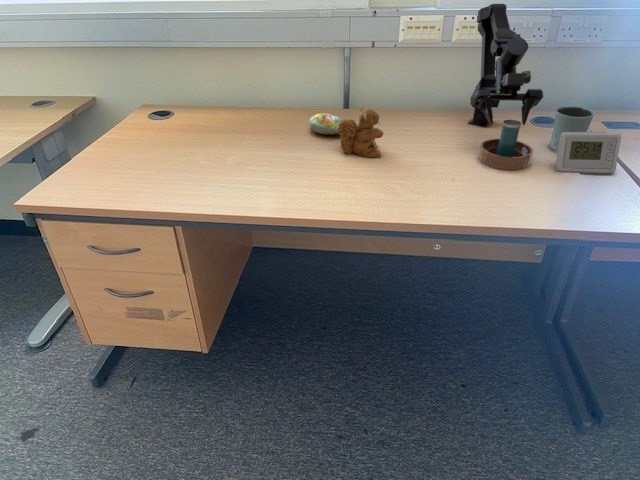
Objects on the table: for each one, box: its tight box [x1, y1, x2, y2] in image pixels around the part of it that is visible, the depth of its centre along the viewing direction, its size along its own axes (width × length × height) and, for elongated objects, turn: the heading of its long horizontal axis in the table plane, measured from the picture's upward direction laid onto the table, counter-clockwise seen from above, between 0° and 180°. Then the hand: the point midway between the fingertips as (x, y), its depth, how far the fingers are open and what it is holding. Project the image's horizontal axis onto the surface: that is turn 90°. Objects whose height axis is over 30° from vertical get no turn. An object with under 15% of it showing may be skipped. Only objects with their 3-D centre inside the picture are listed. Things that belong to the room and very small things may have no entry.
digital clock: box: [554, 131, 622, 175], centre depth 127 cm, size 16×9×11 cm, turn 73°
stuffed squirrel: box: [337, 108, 384, 158], centre depth 140 cm, size 10×14×13 cm
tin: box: [497, 119, 522, 157], centre depth 132 cm, size 5×5×12 cm
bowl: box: [478, 138, 534, 172], centre depth 134 cm, size 14×14×4 cm
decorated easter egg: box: [308, 113, 343, 136], centre depth 157 cm, size 11×8×15 cm
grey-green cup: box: [549, 105, 595, 152], centre depth 139 cm, size 10×10×12 cm
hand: (507, 124), depth 132 cm, fingers open, 9 cm apart
